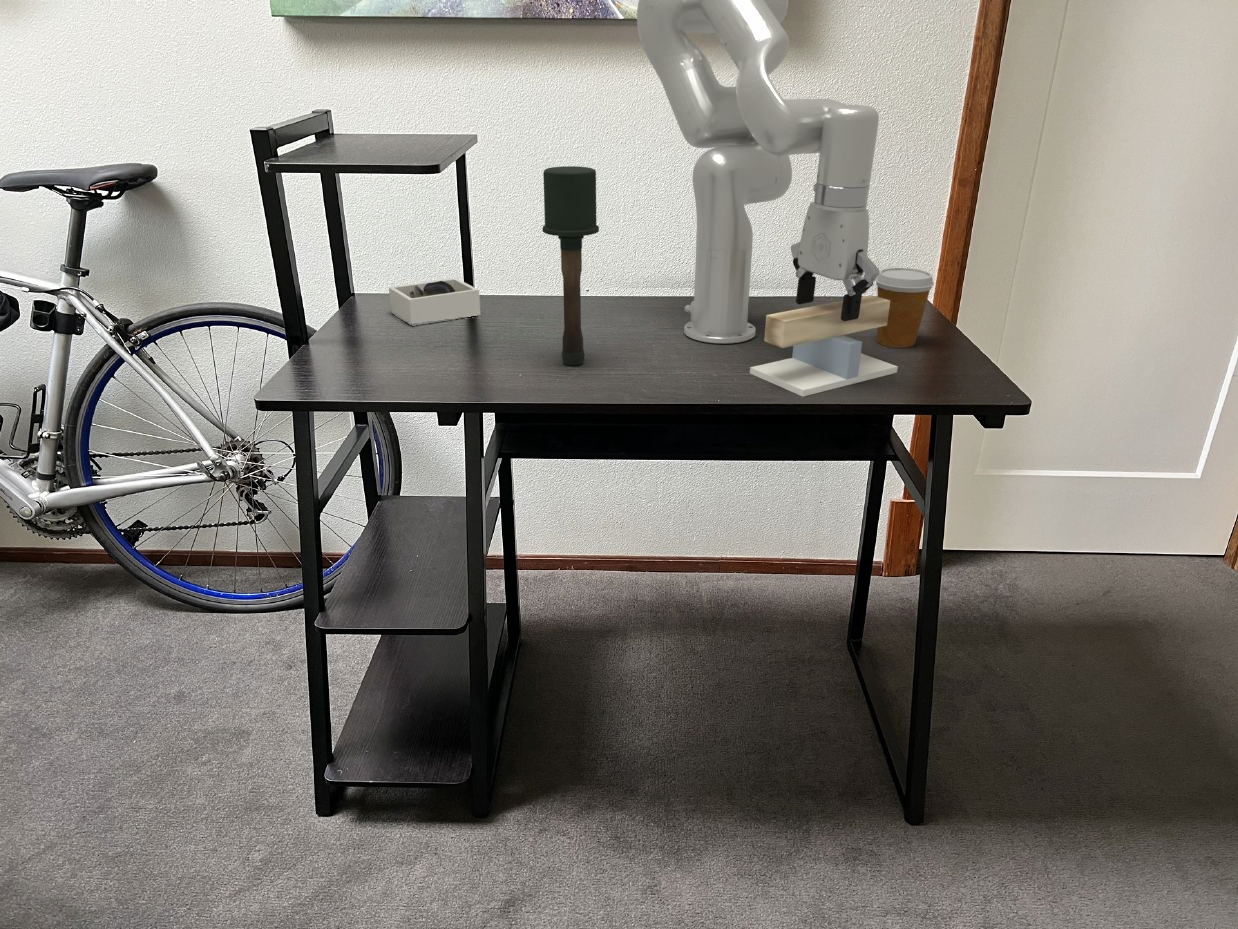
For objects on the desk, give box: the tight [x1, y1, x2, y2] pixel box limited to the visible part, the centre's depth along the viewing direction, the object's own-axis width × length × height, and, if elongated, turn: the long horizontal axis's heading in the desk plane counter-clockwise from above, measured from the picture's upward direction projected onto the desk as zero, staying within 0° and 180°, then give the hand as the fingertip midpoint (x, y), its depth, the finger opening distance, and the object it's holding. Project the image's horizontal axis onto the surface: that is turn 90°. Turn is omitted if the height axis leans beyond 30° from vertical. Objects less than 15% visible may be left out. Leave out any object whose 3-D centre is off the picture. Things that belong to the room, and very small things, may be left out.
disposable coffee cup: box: [874, 267, 935, 349], centre depth 155 cm, size 10×10×12 cm
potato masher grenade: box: [542, 165, 600, 366], centre depth 140 cm, size 8×9×30 cm
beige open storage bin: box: [388, 277, 482, 324], centre depth 171 cm, size 11×14×5 cm
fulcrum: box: [749, 335, 899, 397], centre depth 142 cm, size 12×20×6 cm, turn 123°
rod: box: [763, 294, 890, 349], centre depth 139 cm, size 4×22×4 cm, turn 123°
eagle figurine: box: [407, 280, 455, 298], centre depth 171 cm, size 8×7×9 cm
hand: (826, 311), depth 139 cm, fingers open, 9 cm apart
